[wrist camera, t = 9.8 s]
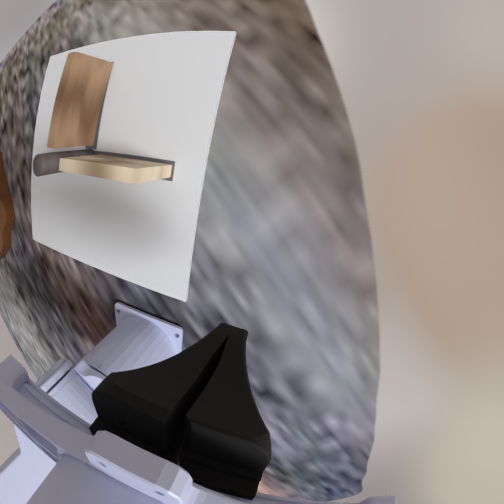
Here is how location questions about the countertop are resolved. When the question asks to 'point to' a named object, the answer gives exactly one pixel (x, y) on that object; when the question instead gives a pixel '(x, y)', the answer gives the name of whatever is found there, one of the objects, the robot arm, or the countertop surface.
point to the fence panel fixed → (100, 166)
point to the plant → (5, 213)
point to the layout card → (137, 147)
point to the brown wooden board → (78, 101)
